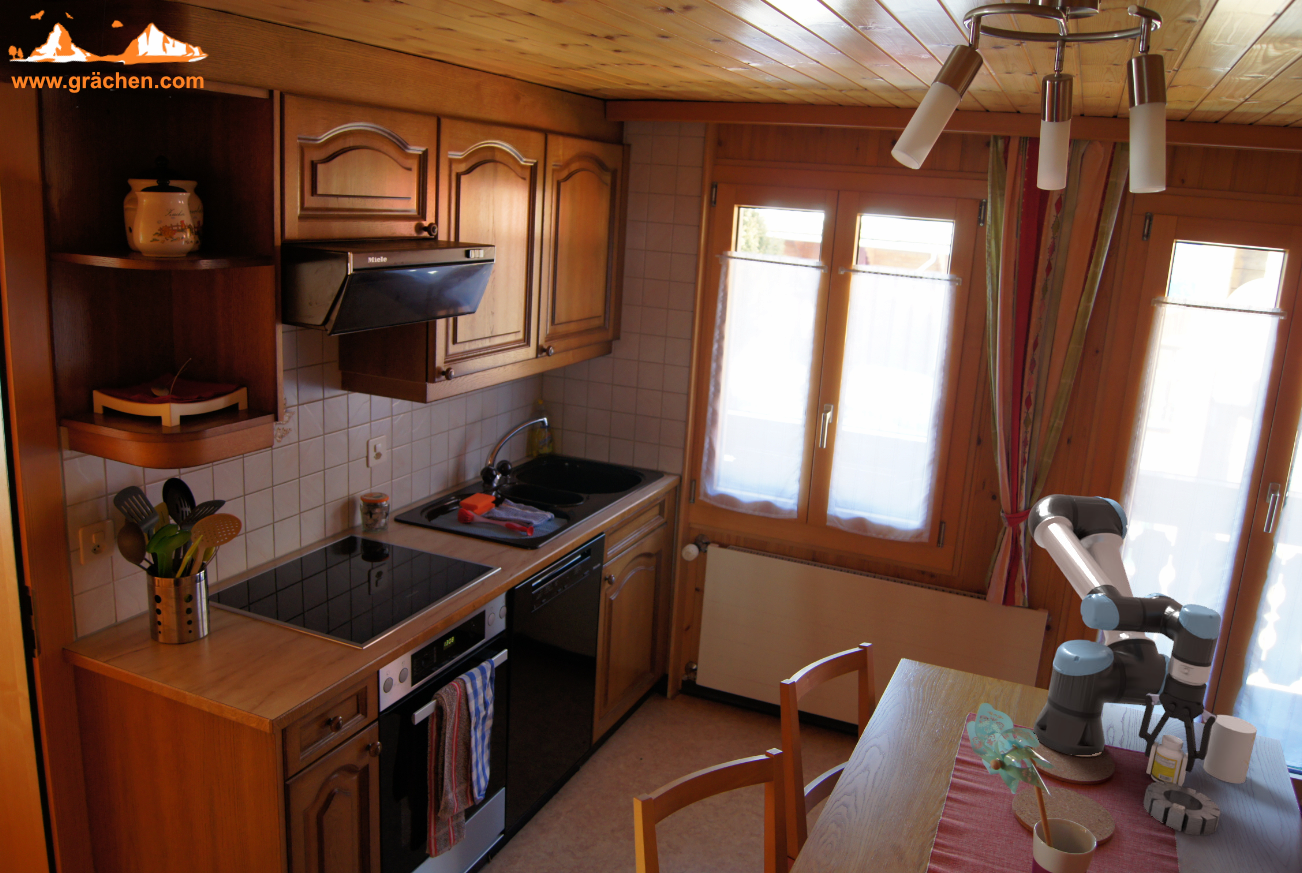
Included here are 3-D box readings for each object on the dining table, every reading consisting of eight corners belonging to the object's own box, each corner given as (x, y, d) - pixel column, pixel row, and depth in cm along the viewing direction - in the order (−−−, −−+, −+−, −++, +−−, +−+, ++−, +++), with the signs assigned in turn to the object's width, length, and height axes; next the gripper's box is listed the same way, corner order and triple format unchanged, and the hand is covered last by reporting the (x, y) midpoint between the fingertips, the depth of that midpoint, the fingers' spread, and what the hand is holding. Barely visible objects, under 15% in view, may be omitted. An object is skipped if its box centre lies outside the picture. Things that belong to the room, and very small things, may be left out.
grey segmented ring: (1137, 814, 189) (1141, 796, 188) (1151, 789, 199) (1155, 772, 198) (1210, 843, 181) (1214, 824, 180) (1221, 816, 191) (1225, 798, 190)
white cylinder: (1251, 786, 204) (1263, 736, 202) (1211, 779, 206) (1222, 729, 203) (1236, 767, 212) (1247, 718, 210) (1197, 760, 213) (1208, 712, 211)
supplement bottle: (1166, 773, 205) (1175, 732, 203) (1184, 787, 200) (1193, 745, 198) (1144, 773, 204) (1153, 732, 202) (1161, 787, 199) (1171, 746, 197)
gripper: (1135, 667, 200) (1114, 766, 205) (1234, 699, 189) (1210, 802, 193) (1143, 658, 206) (1123, 753, 210) (1239, 688, 195) (1216, 788, 199)
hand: (1164, 776), depth 202 cm, fingers closed on supplement bottle, 5 cm apart
